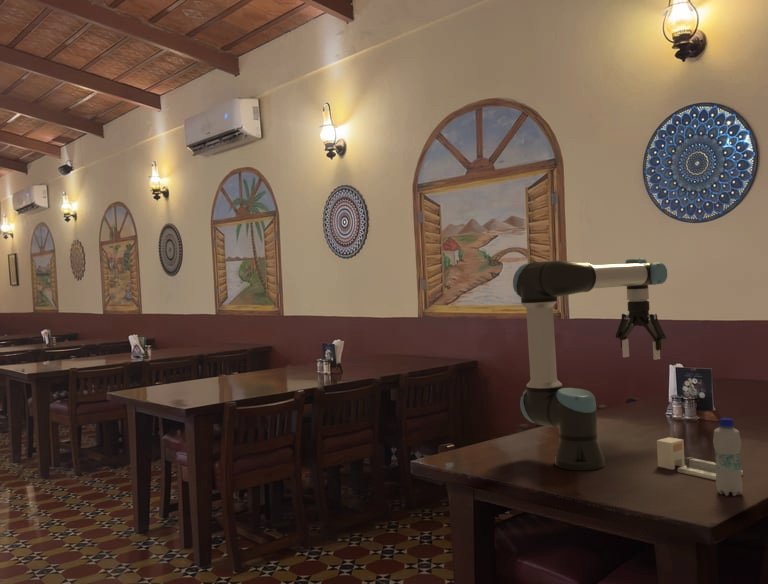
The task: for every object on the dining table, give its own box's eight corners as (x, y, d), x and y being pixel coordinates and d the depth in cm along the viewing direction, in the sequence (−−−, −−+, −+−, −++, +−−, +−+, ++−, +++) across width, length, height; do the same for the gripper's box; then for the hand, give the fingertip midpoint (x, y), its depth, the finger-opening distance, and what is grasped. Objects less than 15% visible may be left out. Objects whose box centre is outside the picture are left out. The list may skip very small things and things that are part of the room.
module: (672, 469, 207) (671, 443, 207) (658, 466, 212) (656, 440, 212) (685, 466, 211) (683, 439, 210) (670, 462, 215) (669, 437, 215)
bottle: (735, 489, 186) (731, 414, 186) (749, 496, 180) (745, 419, 179) (710, 490, 186) (706, 416, 186) (723, 498, 179) (719, 421, 179)
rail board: (722, 481, 193) (721, 469, 193) (677, 471, 205) (677, 460, 205) (743, 475, 198) (742, 463, 198) (698, 465, 210) (697, 454, 210)
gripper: (674, 299, 246) (677, 359, 247) (617, 300, 268) (620, 355, 268) (660, 300, 242) (663, 361, 243) (604, 301, 264) (607, 357, 264)
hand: (641, 358), depth 255 cm, fingers open, 13 cm apart
